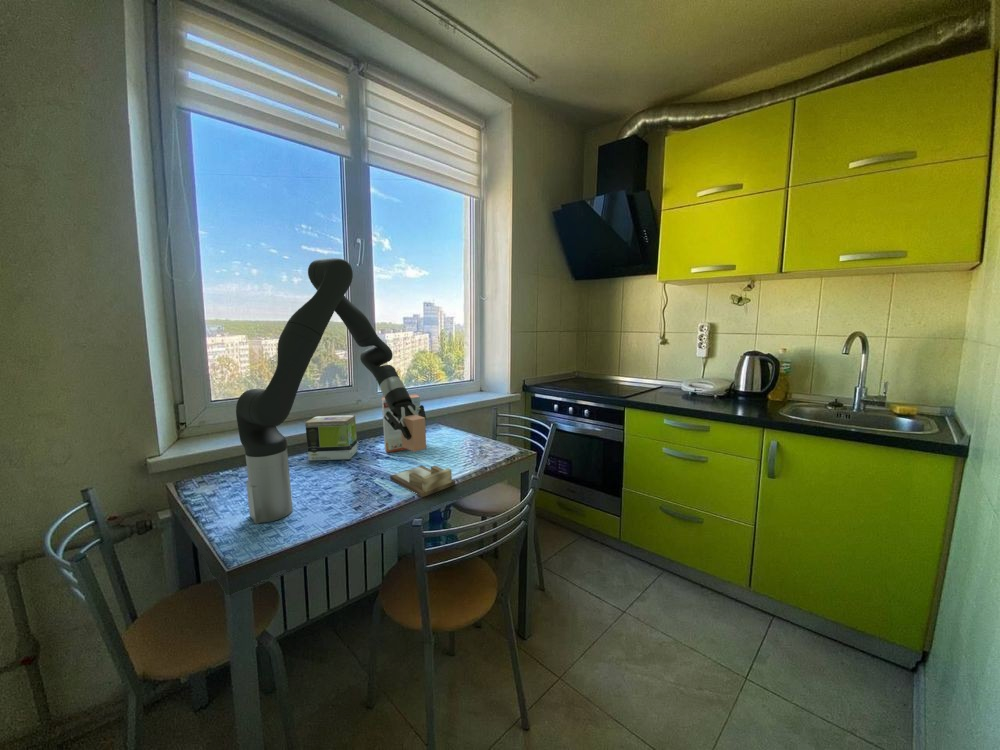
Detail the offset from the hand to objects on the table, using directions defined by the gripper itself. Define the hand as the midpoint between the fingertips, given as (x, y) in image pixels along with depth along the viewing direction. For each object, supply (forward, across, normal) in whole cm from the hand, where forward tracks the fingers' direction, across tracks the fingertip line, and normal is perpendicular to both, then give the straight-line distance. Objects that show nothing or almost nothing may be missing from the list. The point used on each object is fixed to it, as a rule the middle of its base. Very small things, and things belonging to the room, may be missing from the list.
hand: (416, 436), depth 120 cm
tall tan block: (+2, 0, +4) cm, 5 cm away
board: (+12, 0, +9) cm, 15 cm away
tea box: (-19, -10, +40) cm, 45 cm away
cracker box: (-11, +13, +32) cm, 37 cm away
